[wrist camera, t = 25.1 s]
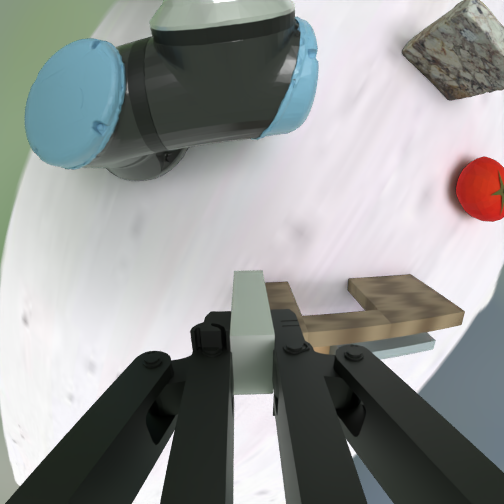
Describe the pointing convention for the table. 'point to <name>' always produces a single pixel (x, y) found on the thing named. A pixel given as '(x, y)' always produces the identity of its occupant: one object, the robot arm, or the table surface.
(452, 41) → the stone block
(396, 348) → the gate
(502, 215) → the tomato
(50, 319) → the table surface
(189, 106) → the robot arm
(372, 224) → the table surface
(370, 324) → the wall frame
